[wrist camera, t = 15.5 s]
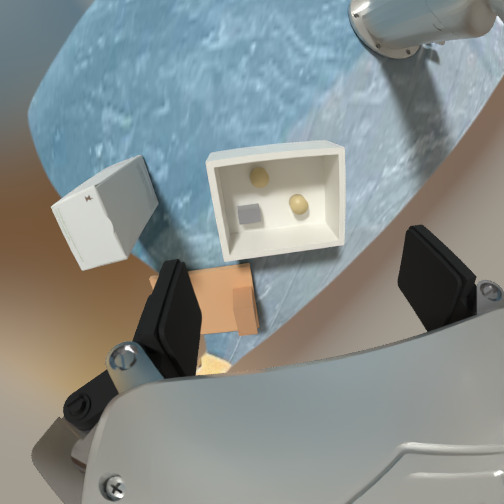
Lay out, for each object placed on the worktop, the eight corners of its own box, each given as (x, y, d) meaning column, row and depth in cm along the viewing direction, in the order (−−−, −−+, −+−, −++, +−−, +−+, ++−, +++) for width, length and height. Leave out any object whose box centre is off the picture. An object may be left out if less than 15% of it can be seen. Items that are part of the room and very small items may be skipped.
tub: (325, 140, 35) (344, 147, 29) (328, 223, 41) (344, 244, 35) (210, 152, 35) (205, 162, 29) (225, 237, 41) (224, 261, 35)
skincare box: (106, 166, 34) (46, 203, 21) (145, 152, 34) (94, 181, 20) (124, 217, 38) (79, 273, 25) (162, 205, 38) (127, 261, 25)
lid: (249, 259, 44) (251, 285, 38) (258, 320, 51) (261, 348, 45) (152, 272, 44) (141, 298, 38) (174, 329, 51) (169, 356, 45)
